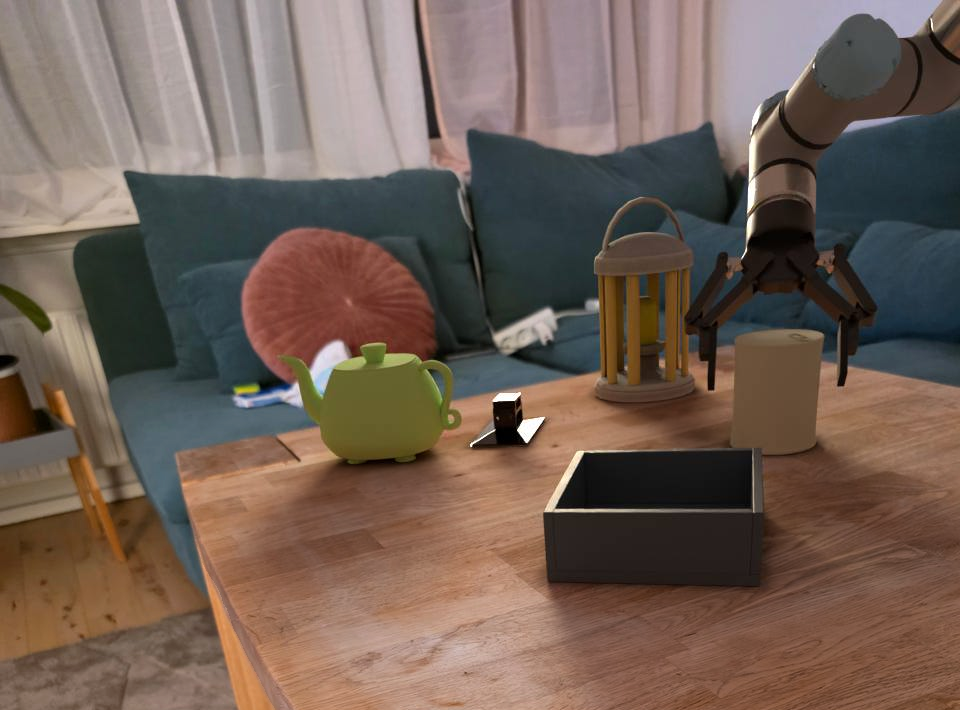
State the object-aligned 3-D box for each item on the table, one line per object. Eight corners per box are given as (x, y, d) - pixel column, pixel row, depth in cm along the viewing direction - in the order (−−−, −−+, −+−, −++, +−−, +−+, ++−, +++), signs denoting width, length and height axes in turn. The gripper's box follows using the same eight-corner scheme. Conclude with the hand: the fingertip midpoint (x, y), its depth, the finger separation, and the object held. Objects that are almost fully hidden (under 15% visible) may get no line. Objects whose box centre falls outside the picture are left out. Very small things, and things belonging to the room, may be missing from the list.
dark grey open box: (758, 510, 82) (761, 447, 79) (760, 586, 68) (764, 512, 65) (579, 510, 87) (577, 450, 84) (547, 581, 73) (542, 512, 70)
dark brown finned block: (526, 446, 108) (524, 408, 106) (469, 448, 110) (465, 410, 108) (545, 419, 119) (542, 383, 117) (492, 420, 121) (489, 386, 119)
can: (777, 460, 94) (785, 343, 89) (712, 445, 101) (715, 335, 96) (834, 441, 99) (844, 328, 93) (767, 427, 106) (774, 321, 100)
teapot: (275, 474, 108) (252, 363, 101) (317, 439, 120) (299, 339, 114) (451, 468, 103) (438, 351, 97) (476, 432, 116) (466, 327, 110)
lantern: (680, 375, 134) (682, 190, 123) (707, 395, 122) (712, 192, 110) (586, 385, 134) (580, 201, 123) (604, 406, 122) (598, 204, 110)
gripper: (892, 234, 103) (893, 396, 97) (672, 250, 109) (661, 403, 104) (905, 184, 96) (906, 356, 90) (668, 205, 102) (656, 366, 97)
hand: (775, 382), depth 97 cm, fingers open, 13 cm apart
